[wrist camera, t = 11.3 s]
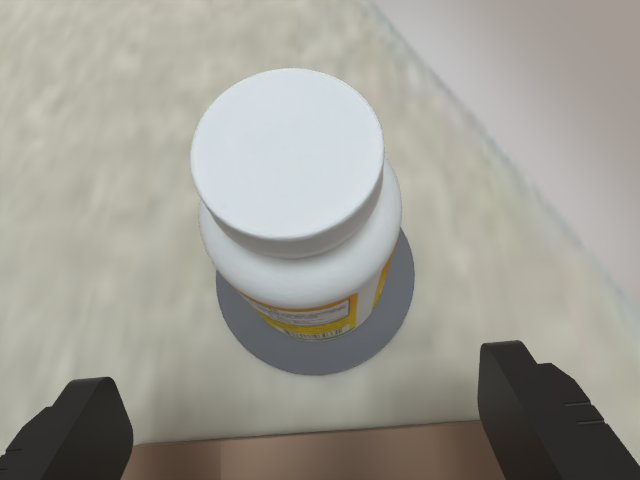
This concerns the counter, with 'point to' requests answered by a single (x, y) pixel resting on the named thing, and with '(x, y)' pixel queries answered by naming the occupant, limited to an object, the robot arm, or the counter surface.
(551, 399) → the robot arm
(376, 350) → the coaster
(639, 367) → the counter surface
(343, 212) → the supplement bottle
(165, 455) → the pocket board
